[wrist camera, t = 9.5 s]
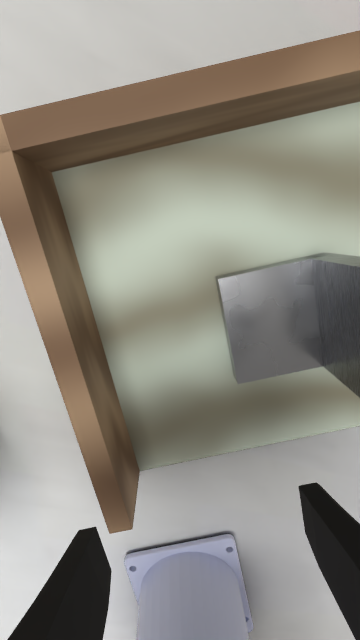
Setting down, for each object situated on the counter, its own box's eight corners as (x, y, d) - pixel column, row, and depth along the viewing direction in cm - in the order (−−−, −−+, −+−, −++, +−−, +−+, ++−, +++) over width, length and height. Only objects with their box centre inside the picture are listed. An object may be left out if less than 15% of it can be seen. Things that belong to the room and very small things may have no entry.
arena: (410, 407, 21) (483, 458, 16) (123, 466, 21) (109, 533, 17) (400, 69, 16) (500, -3, 11) (27, 155, 16) (-32, 122, 12)
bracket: (323, 252, 17) (401, 261, 12) (333, 354, 19) (406, 406, 13) (214, 276, 18) (237, 296, 12) (233, 375, 19) (261, 436, 13)
